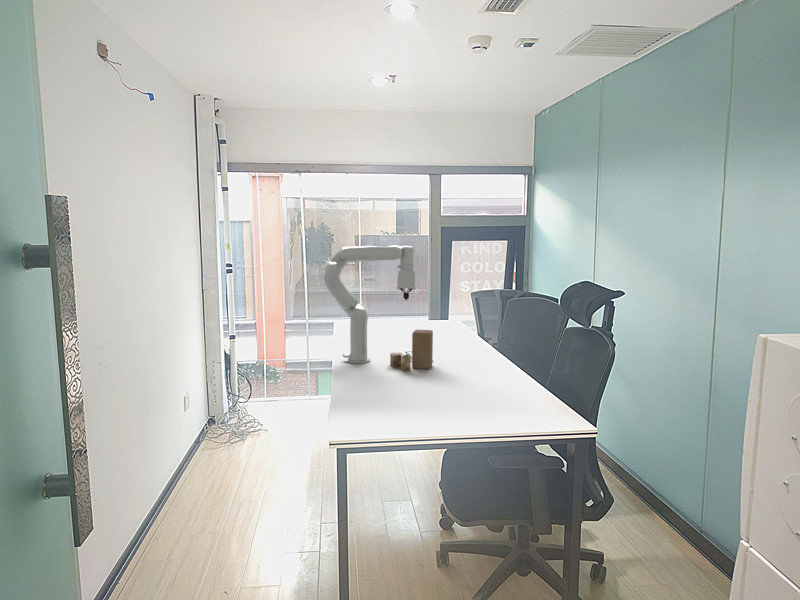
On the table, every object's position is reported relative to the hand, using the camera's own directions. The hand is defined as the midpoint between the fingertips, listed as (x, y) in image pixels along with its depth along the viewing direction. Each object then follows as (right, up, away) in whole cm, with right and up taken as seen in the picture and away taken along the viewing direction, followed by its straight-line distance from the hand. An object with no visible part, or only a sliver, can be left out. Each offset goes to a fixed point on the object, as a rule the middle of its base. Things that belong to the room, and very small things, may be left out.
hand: (406, 299), depth 322 cm
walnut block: (-5, -37, -12) cm, 39 cm away
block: (+9, -37, -14) cm, 41 cm away
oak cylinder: (0, -38, -20) cm, 43 cm away
